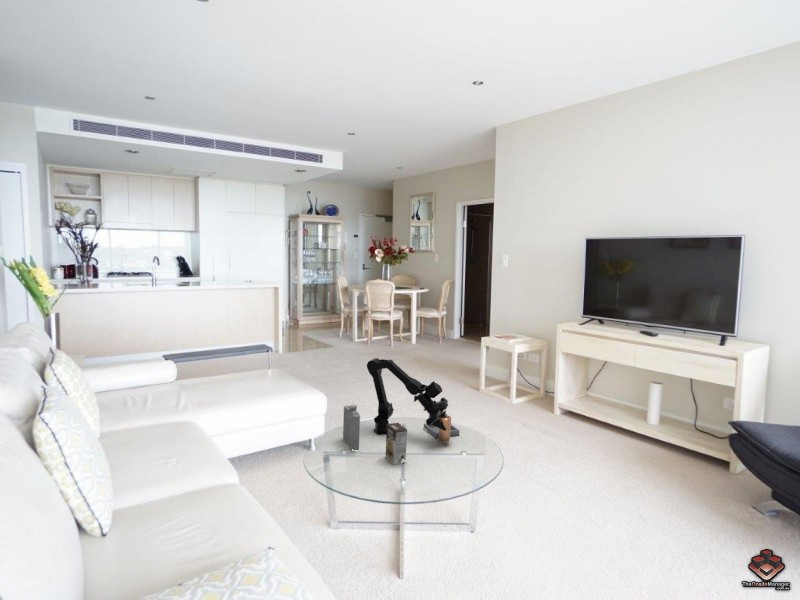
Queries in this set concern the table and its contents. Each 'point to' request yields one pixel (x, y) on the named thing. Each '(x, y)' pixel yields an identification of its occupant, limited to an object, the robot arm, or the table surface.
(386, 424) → the robot arm
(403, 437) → the coffee box
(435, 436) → the fill tray
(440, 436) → the copper bottle
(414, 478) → the table surface
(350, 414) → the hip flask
